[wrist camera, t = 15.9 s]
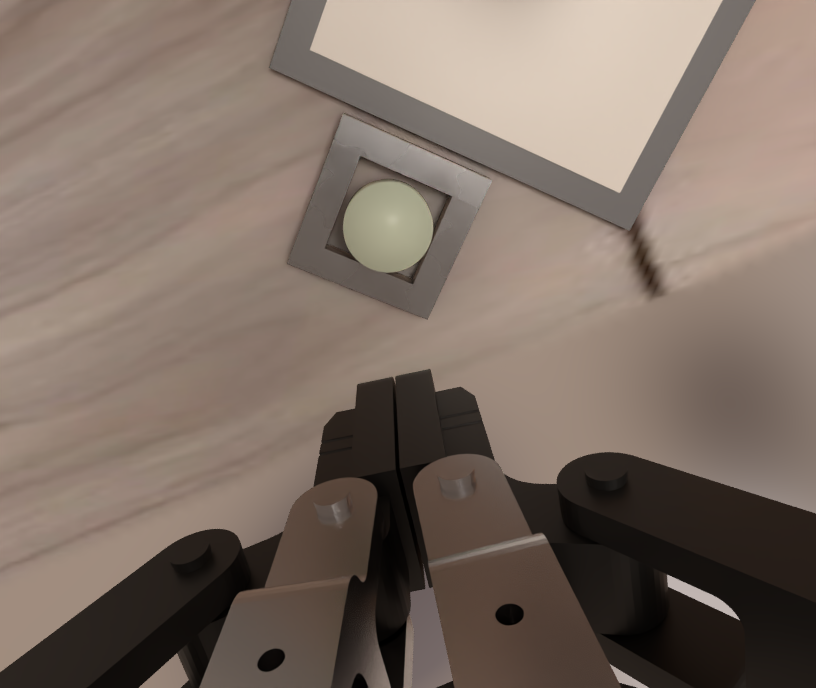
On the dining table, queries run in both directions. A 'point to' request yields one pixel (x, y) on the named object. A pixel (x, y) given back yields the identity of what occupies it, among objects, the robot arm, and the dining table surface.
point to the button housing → (413, 163)
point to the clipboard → (525, 81)
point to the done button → (387, 226)
